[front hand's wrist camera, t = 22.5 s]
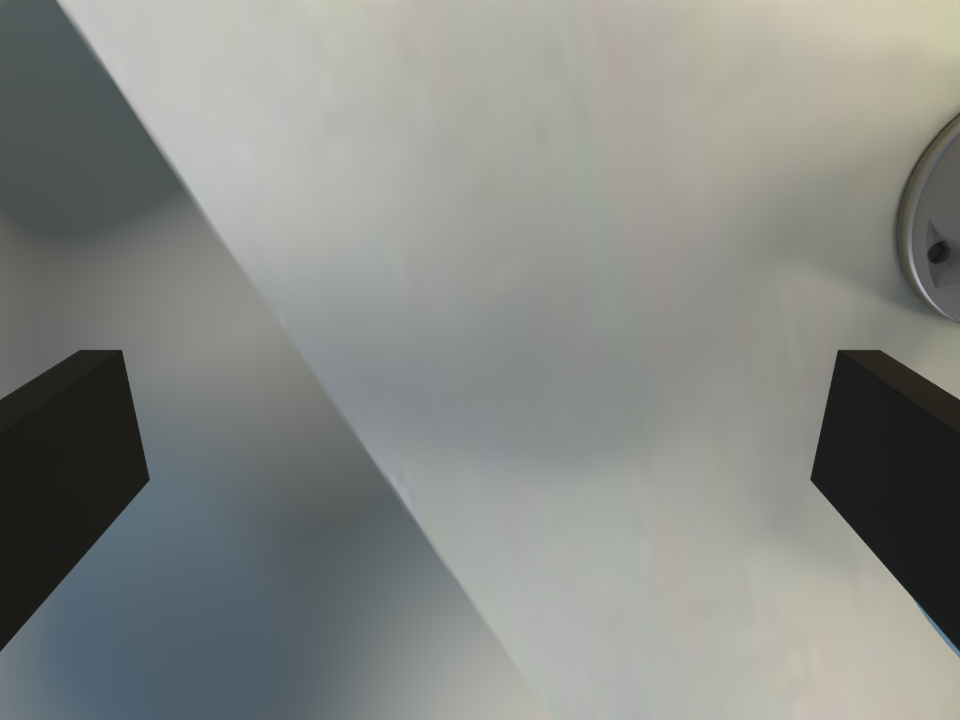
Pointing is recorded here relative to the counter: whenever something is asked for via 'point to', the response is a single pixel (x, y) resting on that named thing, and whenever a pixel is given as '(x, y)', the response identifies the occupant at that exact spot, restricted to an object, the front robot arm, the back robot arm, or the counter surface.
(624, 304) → the counter surface
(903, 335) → the counter surface
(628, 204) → the counter surface
